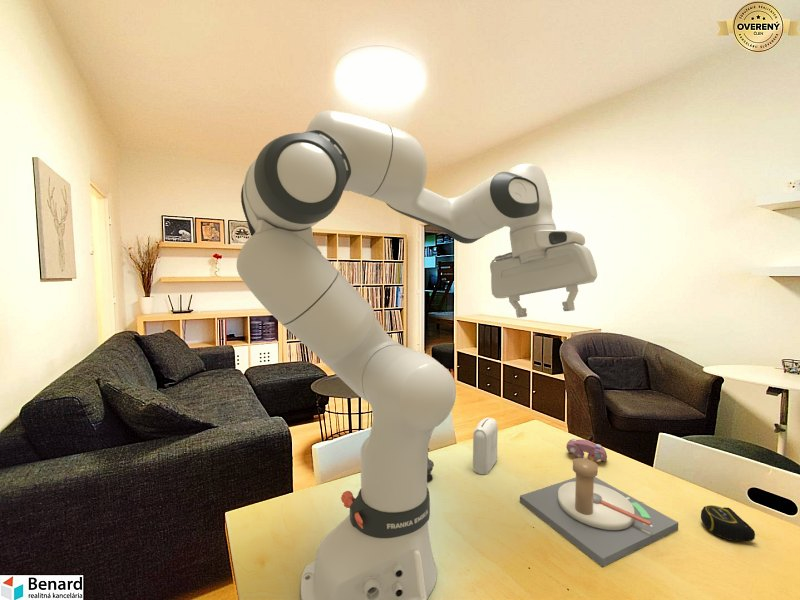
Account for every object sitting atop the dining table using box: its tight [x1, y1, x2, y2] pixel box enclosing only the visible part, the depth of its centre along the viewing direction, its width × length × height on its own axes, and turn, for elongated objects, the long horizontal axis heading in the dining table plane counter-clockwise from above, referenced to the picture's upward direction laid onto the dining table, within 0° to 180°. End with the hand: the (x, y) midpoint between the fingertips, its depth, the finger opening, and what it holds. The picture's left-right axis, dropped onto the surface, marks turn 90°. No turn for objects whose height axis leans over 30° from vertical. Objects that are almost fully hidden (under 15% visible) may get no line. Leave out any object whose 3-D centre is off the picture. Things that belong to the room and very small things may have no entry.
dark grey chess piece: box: [427, 447, 435, 484], centre depth 90 cm, size 6×6×12 cm
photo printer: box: [472, 417, 499, 475], centre depth 96 cm, size 10×4×12 cm, turn 148°
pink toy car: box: [565, 438, 608, 463], centre depth 99 cm, size 10×5×7 cm, turn 55°
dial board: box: [519, 476, 679, 568], centre depth 76 cm, size 22×20×2 cm
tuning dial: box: [558, 457, 651, 530], centre depth 74 cm, size 17×14×11 cm
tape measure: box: [700, 505, 756, 542], centre depth 71 cm, size 7×7×4 cm
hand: (544, 314), depth 71 cm, fingers open, 8 cm apart
